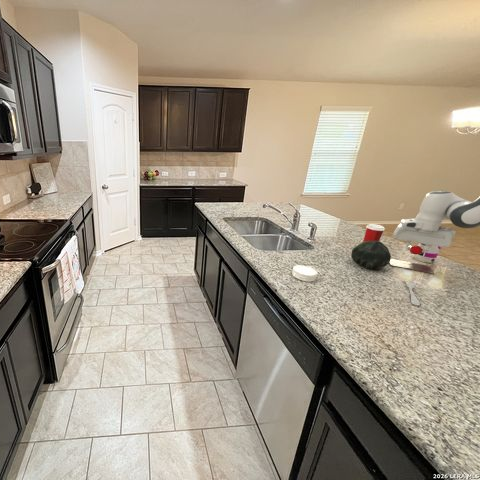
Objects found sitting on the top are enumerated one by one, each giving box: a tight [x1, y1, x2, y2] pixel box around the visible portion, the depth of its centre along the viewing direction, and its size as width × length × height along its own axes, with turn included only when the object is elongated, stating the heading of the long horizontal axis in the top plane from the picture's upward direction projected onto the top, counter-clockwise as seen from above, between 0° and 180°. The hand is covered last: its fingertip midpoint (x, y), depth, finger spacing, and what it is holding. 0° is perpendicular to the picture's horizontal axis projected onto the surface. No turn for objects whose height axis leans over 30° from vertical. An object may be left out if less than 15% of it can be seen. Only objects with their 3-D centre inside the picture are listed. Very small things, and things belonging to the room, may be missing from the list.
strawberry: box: [409, 245, 422, 255], centre depth 125 cm, size 4×4×4 cm
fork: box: [405, 281, 421, 307], centre depth 105 cm, size 3×21×3 cm, turn 145°
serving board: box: [388, 258, 435, 275], centre depth 128 cm, size 16×10×1 cm, turn 57°
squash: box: [350, 240, 392, 270], centre depth 126 cm, size 14×15×15 cm
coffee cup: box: [362, 223, 386, 242], centre depth 144 cm, size 8×8×15 cm
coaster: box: [291, 264, 318, 283], centre depth 117 cm, size 10×10×4 cm
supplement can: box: [413, 243, 442, 264], centre depth 132 cm, size 8×8×15 cm
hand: (415, 250), depth 125 cm, fingers closed on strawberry, 4 cm apart
